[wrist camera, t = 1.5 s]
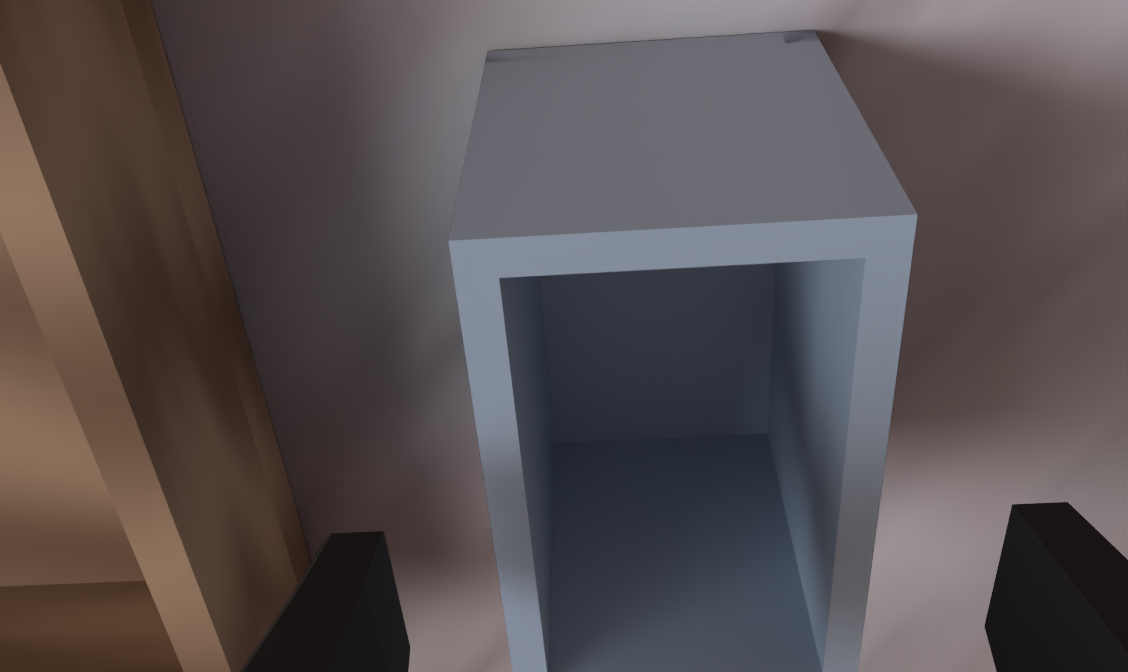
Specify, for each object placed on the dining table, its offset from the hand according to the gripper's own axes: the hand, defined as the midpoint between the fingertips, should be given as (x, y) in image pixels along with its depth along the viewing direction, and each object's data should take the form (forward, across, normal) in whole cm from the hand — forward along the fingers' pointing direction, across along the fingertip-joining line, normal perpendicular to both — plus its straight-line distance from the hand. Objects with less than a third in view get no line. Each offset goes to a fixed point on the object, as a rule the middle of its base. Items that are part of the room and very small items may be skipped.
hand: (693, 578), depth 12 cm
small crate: (+7, 0, 0) cm, 7 cm away
